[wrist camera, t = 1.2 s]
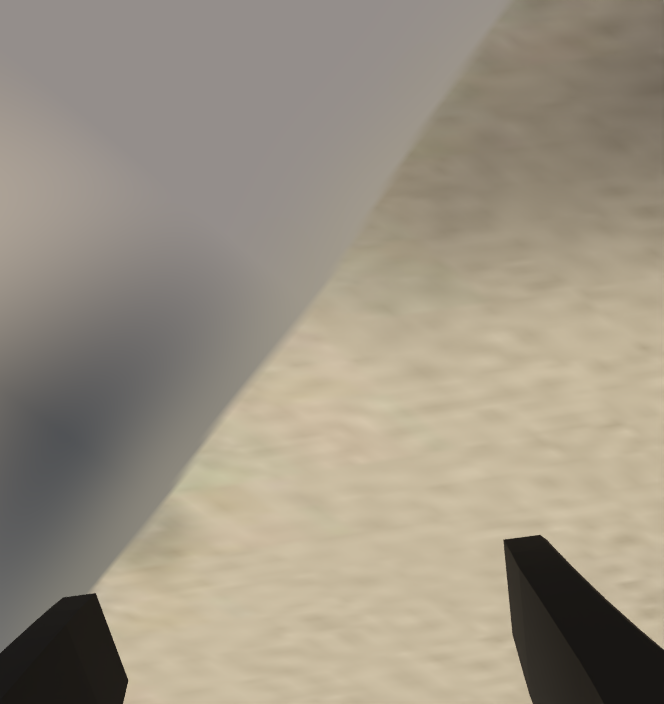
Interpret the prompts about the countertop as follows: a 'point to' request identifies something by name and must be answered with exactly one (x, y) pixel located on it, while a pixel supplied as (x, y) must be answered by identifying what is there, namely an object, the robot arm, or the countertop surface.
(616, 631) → the robot arm
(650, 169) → the countertop surface
